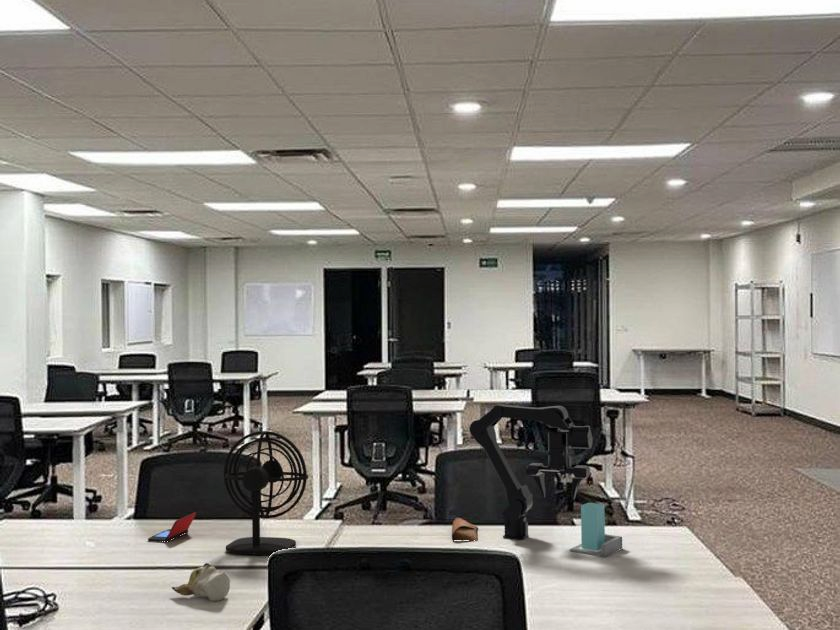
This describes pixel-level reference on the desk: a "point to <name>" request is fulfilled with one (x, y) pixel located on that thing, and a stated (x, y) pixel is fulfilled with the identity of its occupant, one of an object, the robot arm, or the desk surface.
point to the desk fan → (257, 481)
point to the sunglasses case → (463, 530)
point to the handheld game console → (174, 529)
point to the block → (592, 526)
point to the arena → (602, 547)
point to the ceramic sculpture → (206, 584)
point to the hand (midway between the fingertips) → (558, 498)
